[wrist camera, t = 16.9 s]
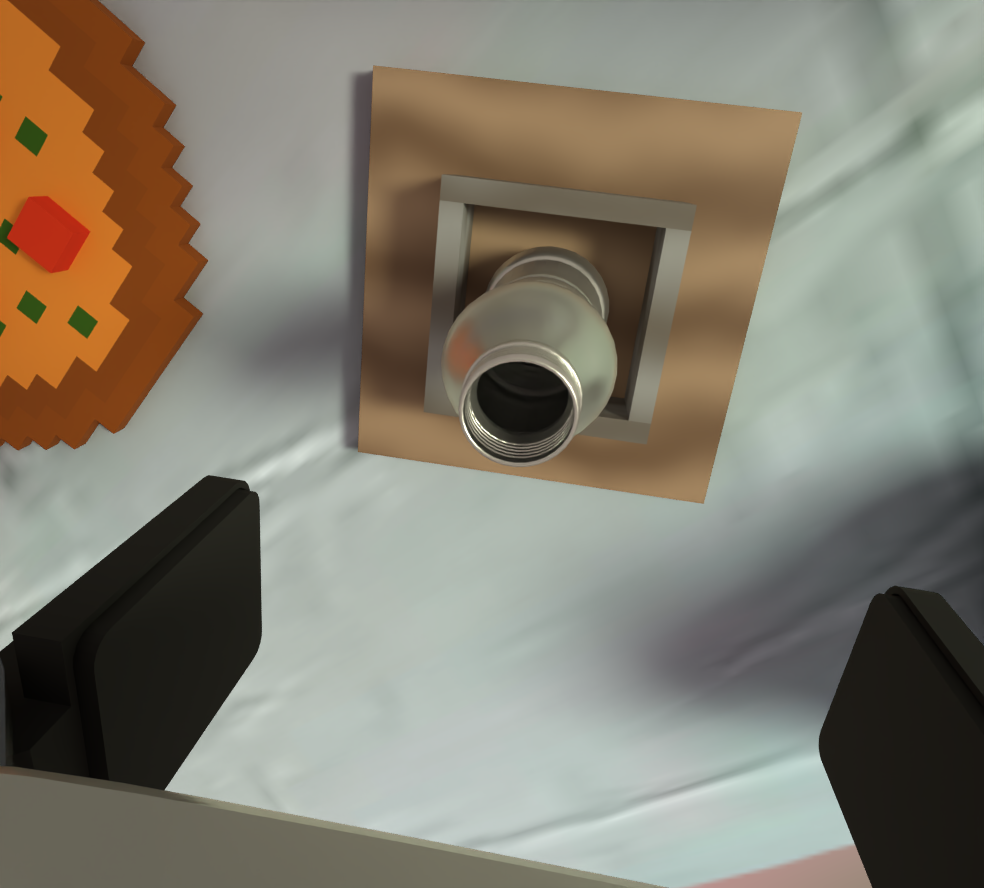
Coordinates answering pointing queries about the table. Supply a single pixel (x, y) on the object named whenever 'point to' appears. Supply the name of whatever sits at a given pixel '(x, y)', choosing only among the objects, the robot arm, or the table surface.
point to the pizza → (85, 225)
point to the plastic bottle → (531, 357)
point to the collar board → (576, 227)
